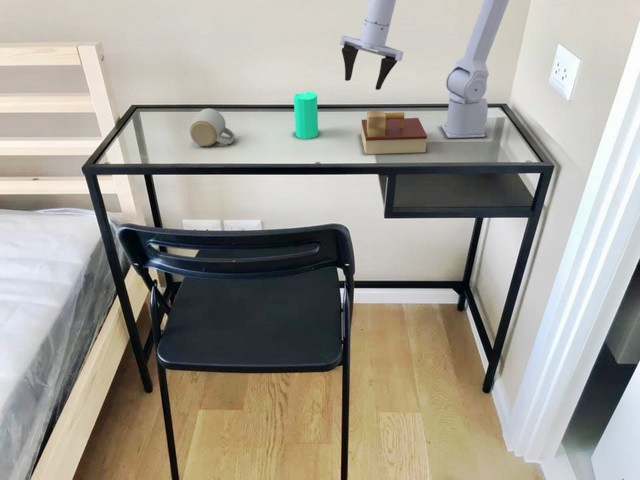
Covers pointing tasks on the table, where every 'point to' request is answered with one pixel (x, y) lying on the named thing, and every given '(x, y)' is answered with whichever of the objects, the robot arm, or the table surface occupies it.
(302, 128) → the candle
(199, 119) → the ceramic mug
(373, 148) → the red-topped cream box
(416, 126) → the cover
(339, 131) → the table surface
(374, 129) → the block
